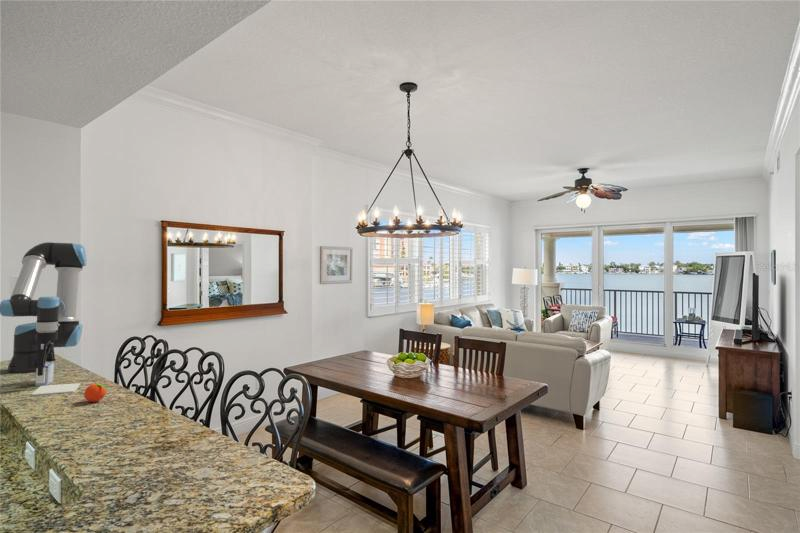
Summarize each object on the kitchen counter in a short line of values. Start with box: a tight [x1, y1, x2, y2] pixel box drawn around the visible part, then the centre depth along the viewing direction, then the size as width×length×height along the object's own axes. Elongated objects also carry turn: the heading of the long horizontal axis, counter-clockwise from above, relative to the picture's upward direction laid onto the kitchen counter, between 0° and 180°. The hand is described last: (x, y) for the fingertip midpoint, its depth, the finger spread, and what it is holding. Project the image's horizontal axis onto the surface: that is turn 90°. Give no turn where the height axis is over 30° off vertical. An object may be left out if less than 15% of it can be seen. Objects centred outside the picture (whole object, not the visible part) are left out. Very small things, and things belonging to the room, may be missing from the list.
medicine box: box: [34, 362, 55, 387], centre depth 189 cm, size 8×4×9 cm, turn 25°
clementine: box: [83, 383, 107, 403], centre depth 167 cm, size 8×7×7 cm
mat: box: [30, 382, 81, 397], centre depth 181 cm, size 14×14×1 cm
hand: (44, 379), depth 189 cm, fingers open, 13 cm apart
